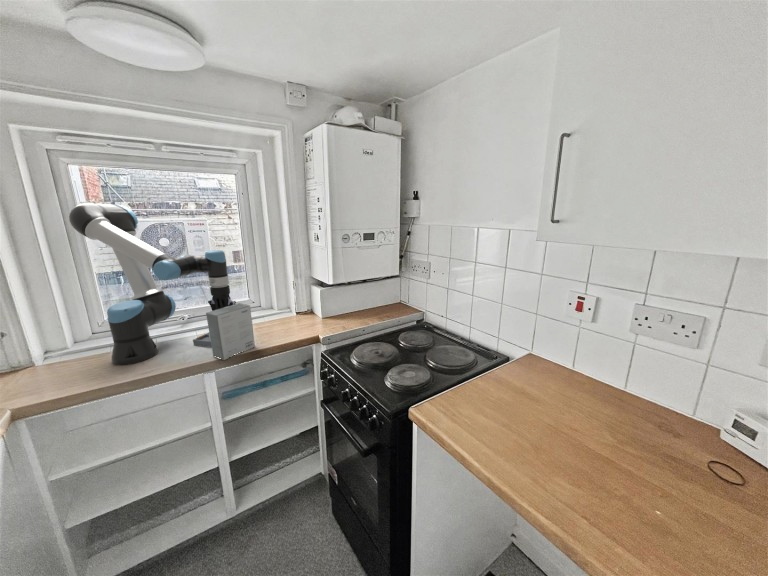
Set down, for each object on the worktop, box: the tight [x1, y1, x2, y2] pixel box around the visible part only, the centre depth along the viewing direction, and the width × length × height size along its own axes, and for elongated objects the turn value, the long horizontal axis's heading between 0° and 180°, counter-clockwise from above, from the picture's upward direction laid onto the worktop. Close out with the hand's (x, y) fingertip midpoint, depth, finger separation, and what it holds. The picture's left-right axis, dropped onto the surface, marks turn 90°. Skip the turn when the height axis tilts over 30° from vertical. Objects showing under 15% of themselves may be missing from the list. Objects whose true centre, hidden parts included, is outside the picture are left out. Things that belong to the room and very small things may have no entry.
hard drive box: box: [205, 302, 256, 361], centre depth 128 cm, size 16×8×20 cm, turn 149°
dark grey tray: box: [192, 332, 212, 348], centre depth 145 cm, size 13×20×3 cm, turn 166°
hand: (226, 335), depth 137 cm, fingers closed
